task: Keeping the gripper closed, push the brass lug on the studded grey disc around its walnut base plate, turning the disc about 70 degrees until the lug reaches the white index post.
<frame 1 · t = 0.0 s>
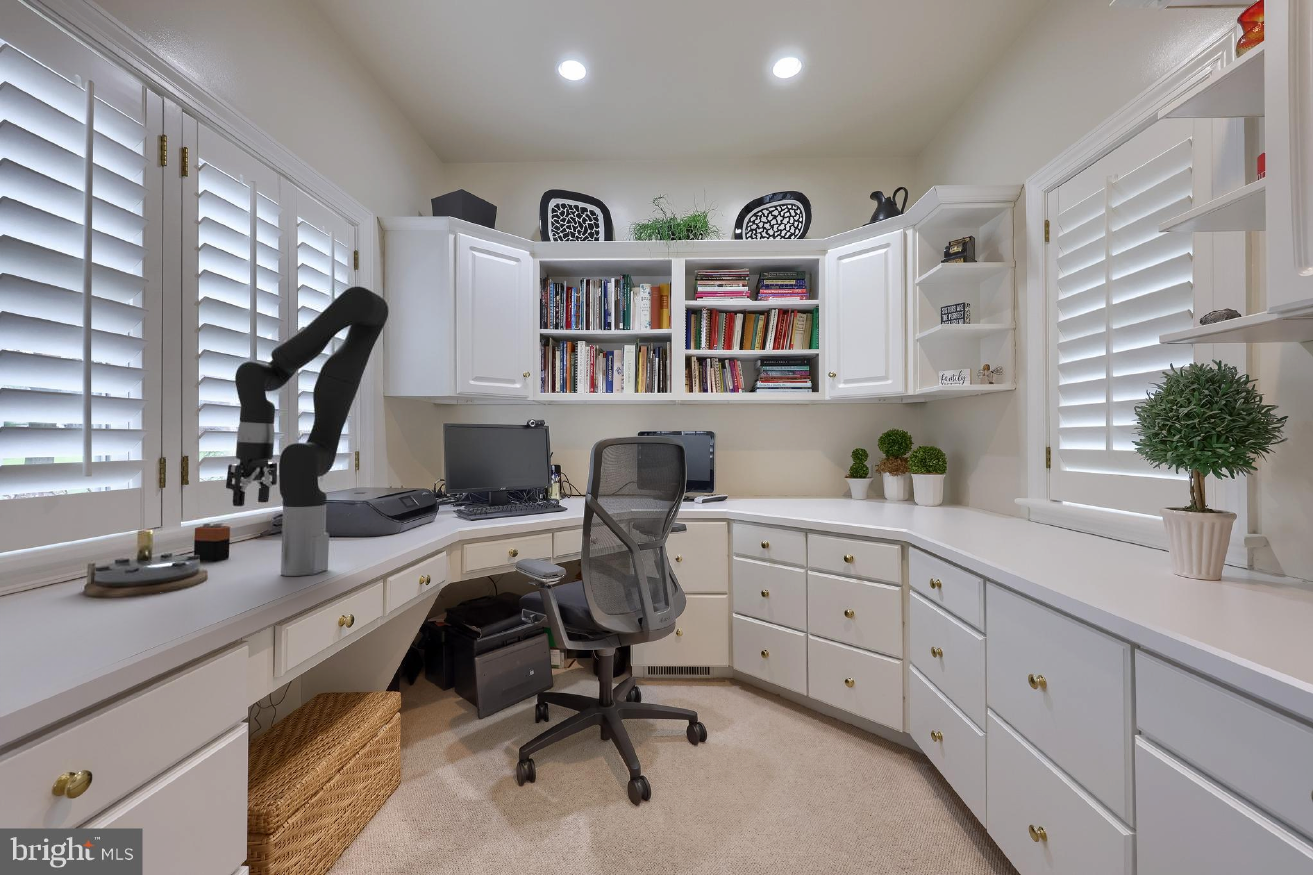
hand: (251, 504, 131), 17 cm above the table, tool pointing down, fingers open, 8 cm apart
battery: (211, 560, 142), on the table
studded grey disc: (150, 555, 118), point 7 cm above the table, hinge at 0.0°
base plate: (149, 584, 118), on the table
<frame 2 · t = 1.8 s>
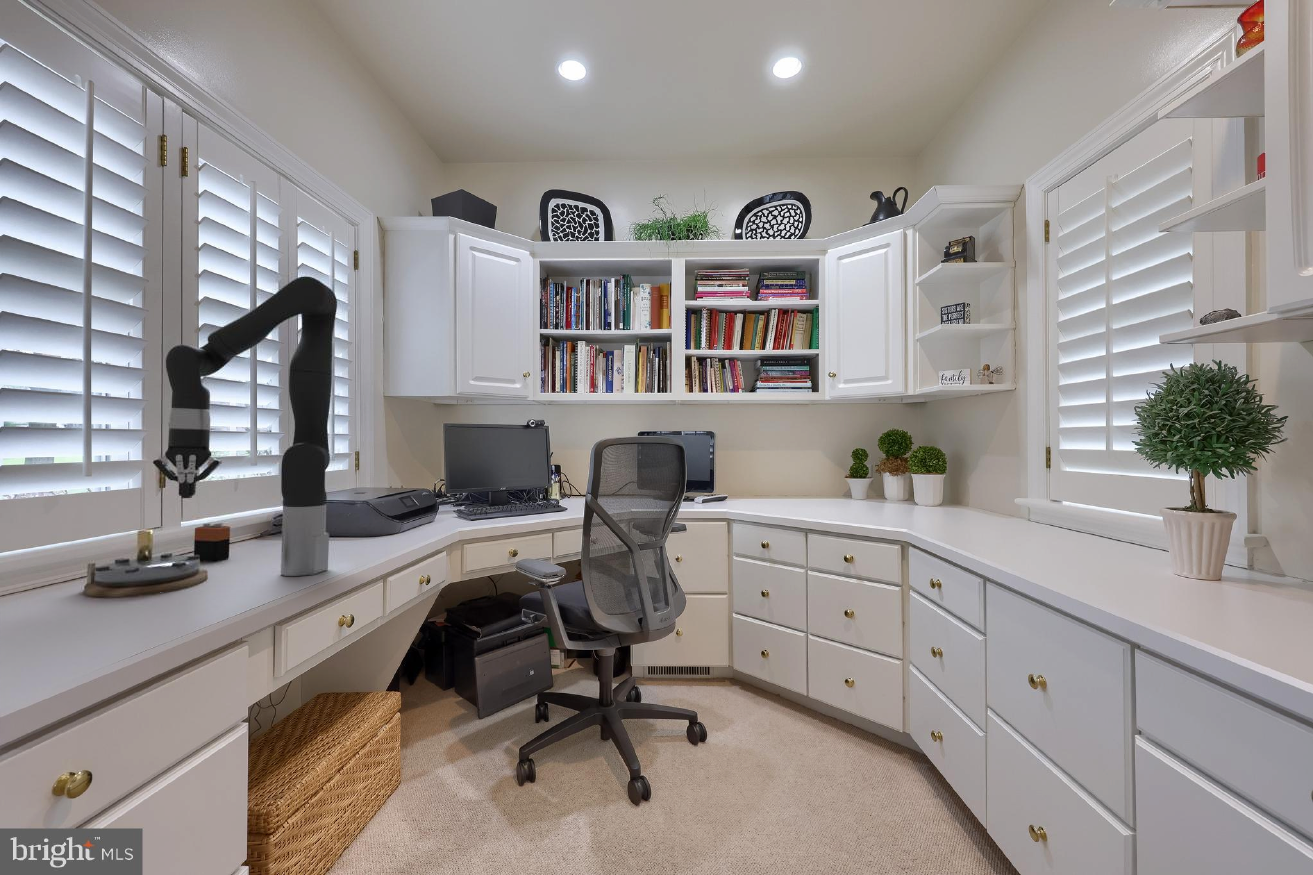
hand: (186, 497, 126), 19 cm above the table, tool pointing down, fingers closed
nothing on the table moved.
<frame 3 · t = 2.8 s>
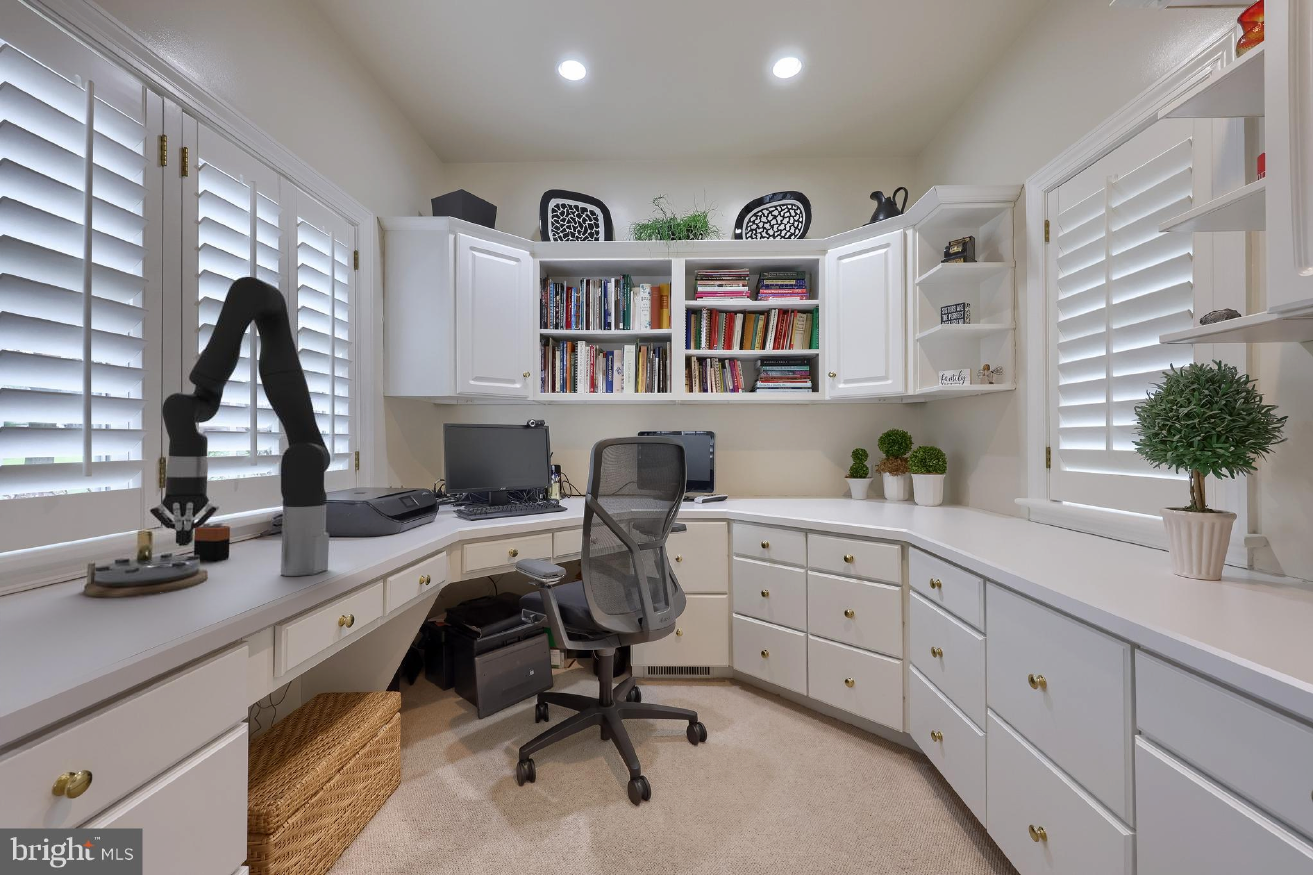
hand: (183, 545, 126), 7 cm above the table, tool pointing down, fingers closed
nothing on the table moved.
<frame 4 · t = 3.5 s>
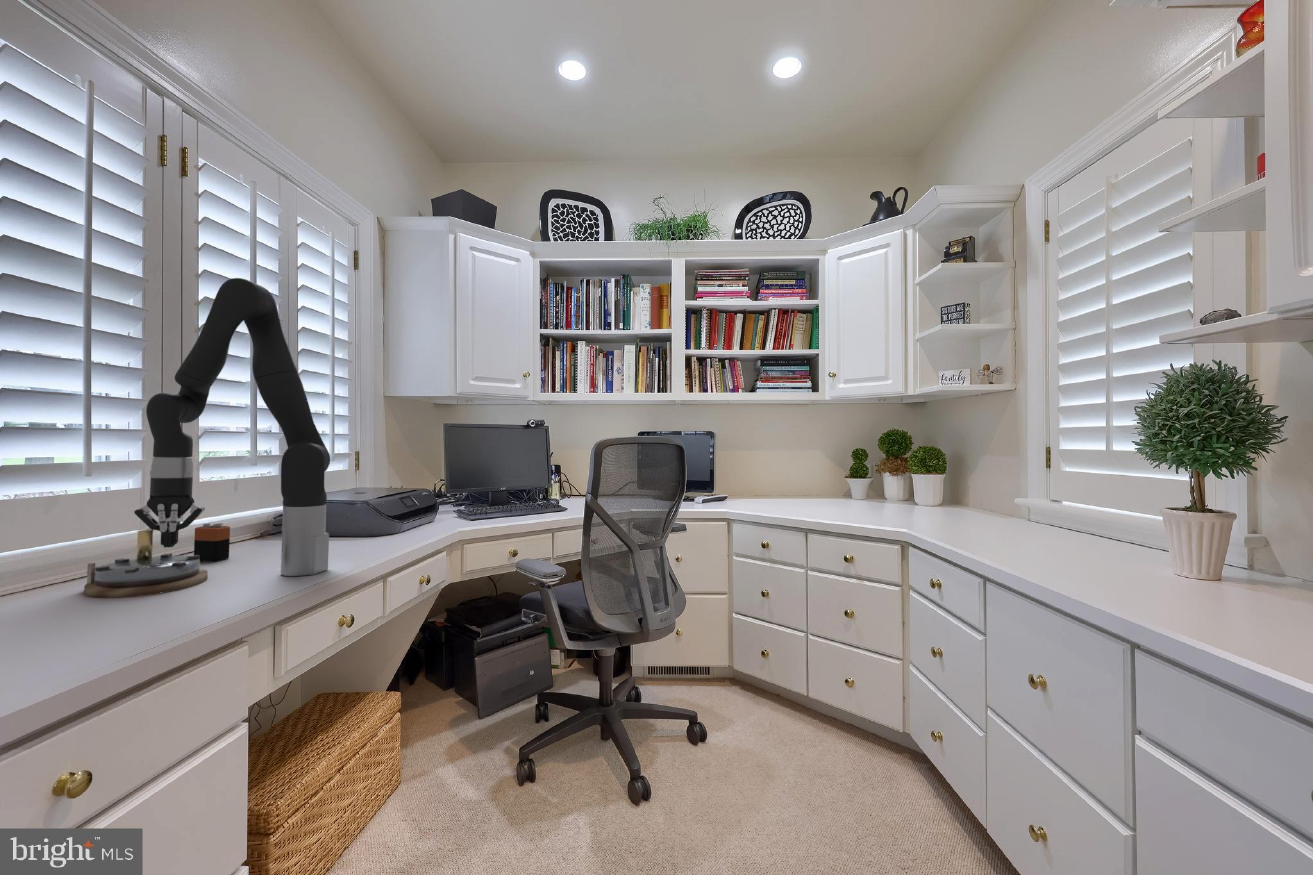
hand: (169, 546, 125), 7 cm above the table, tool pointing down, fingers closed
studded grey disc: (150, 555, 118), point 7 cm above the table, hinge at 0.0°, touching gripper
everything else where it was.
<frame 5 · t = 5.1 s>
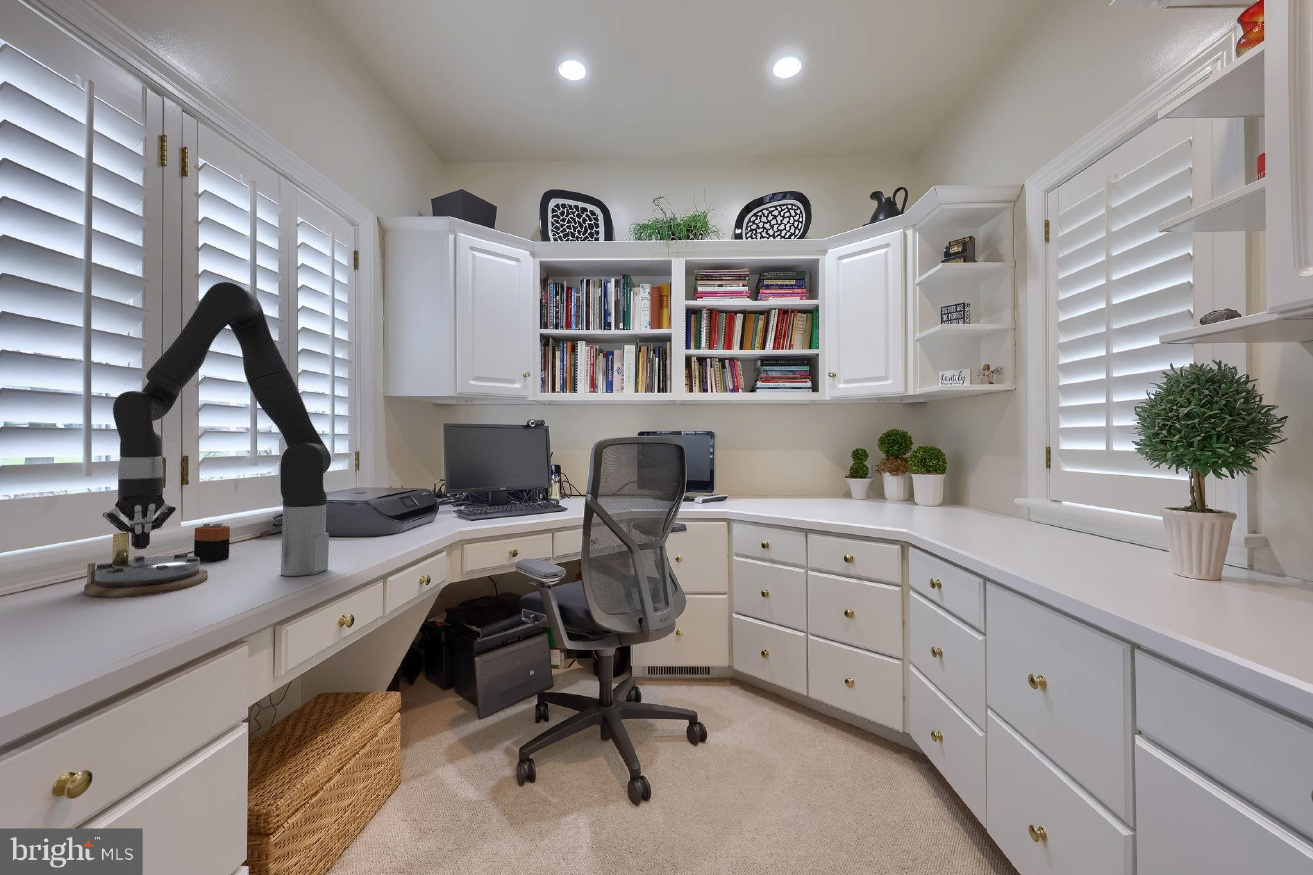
hand: (140, 548, 122), 7 cm above the table, tool pointing down, fingers closed
studded grey disc: (150, 555, 118), point 7 cm above the table, hinge at 36.5°, touching gripper
everything else where it was.
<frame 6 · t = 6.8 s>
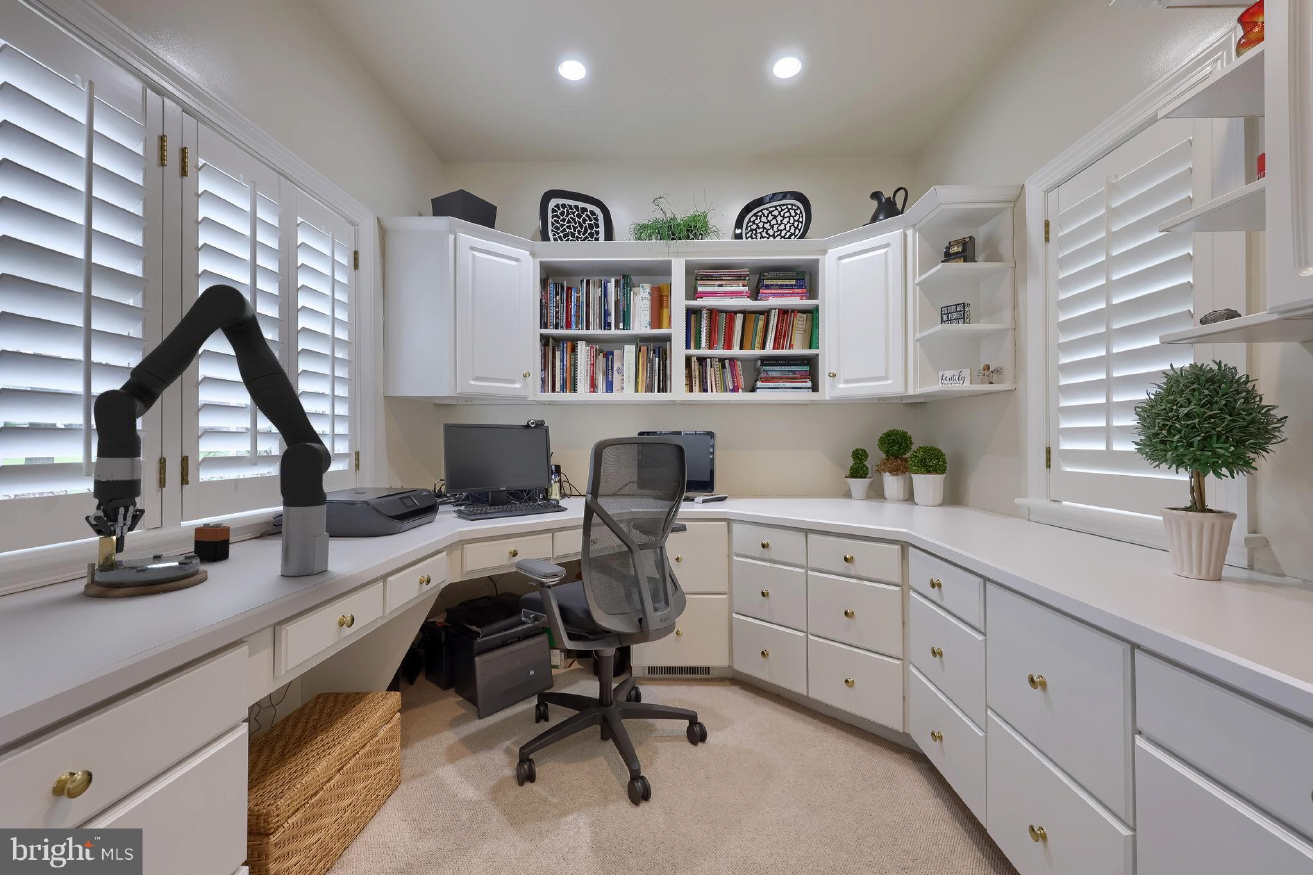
hand: (114, 553, 117), 7 cm above the table, tool pointing down, fingers closed
studded grey disc: (150, 555, 118), point 7 cm above the table, hinge at 72.0°
everything else where it was.
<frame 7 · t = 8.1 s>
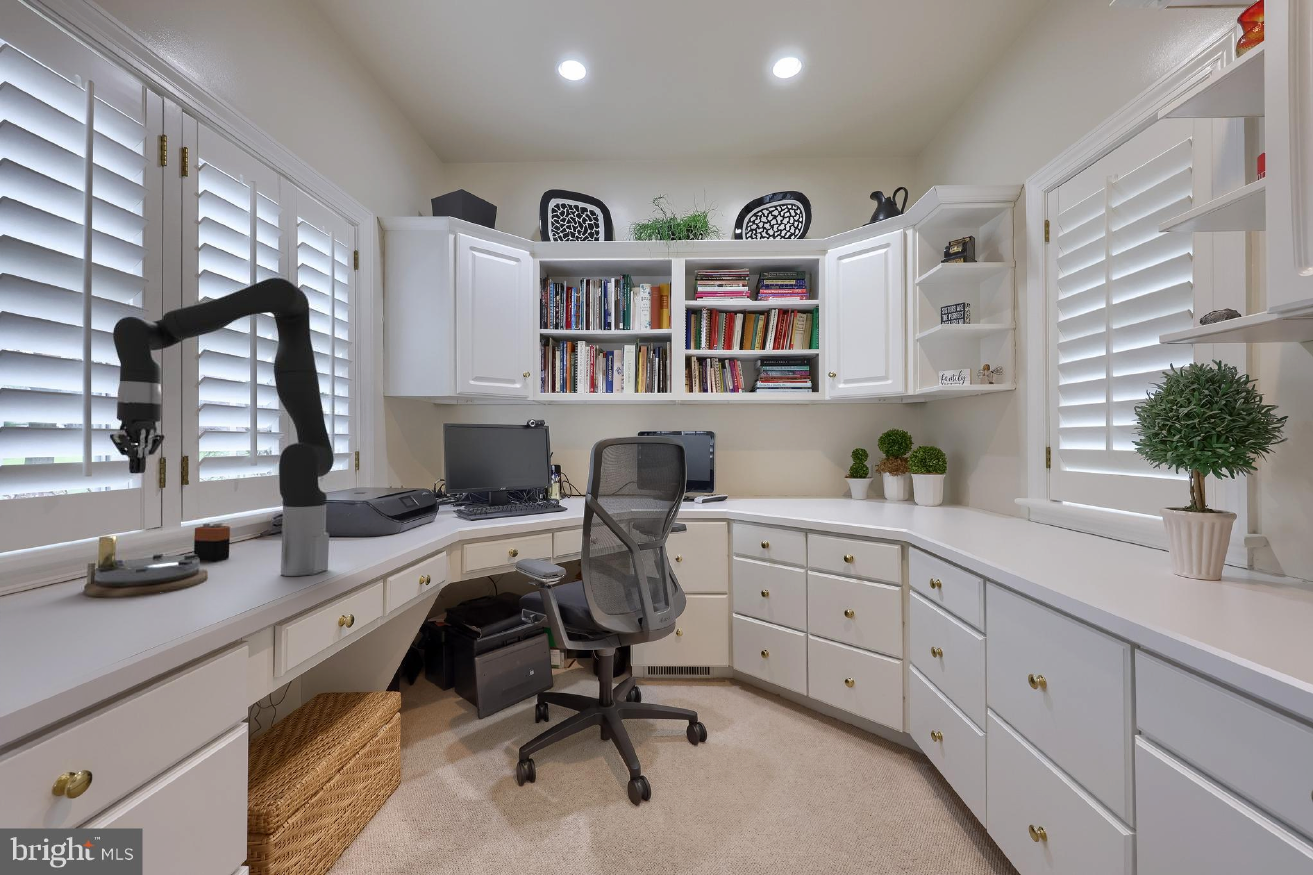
hand: (137, 473, 124), 25 cm above the table, tool pointing down, fingers closed
nothing on the table moved.
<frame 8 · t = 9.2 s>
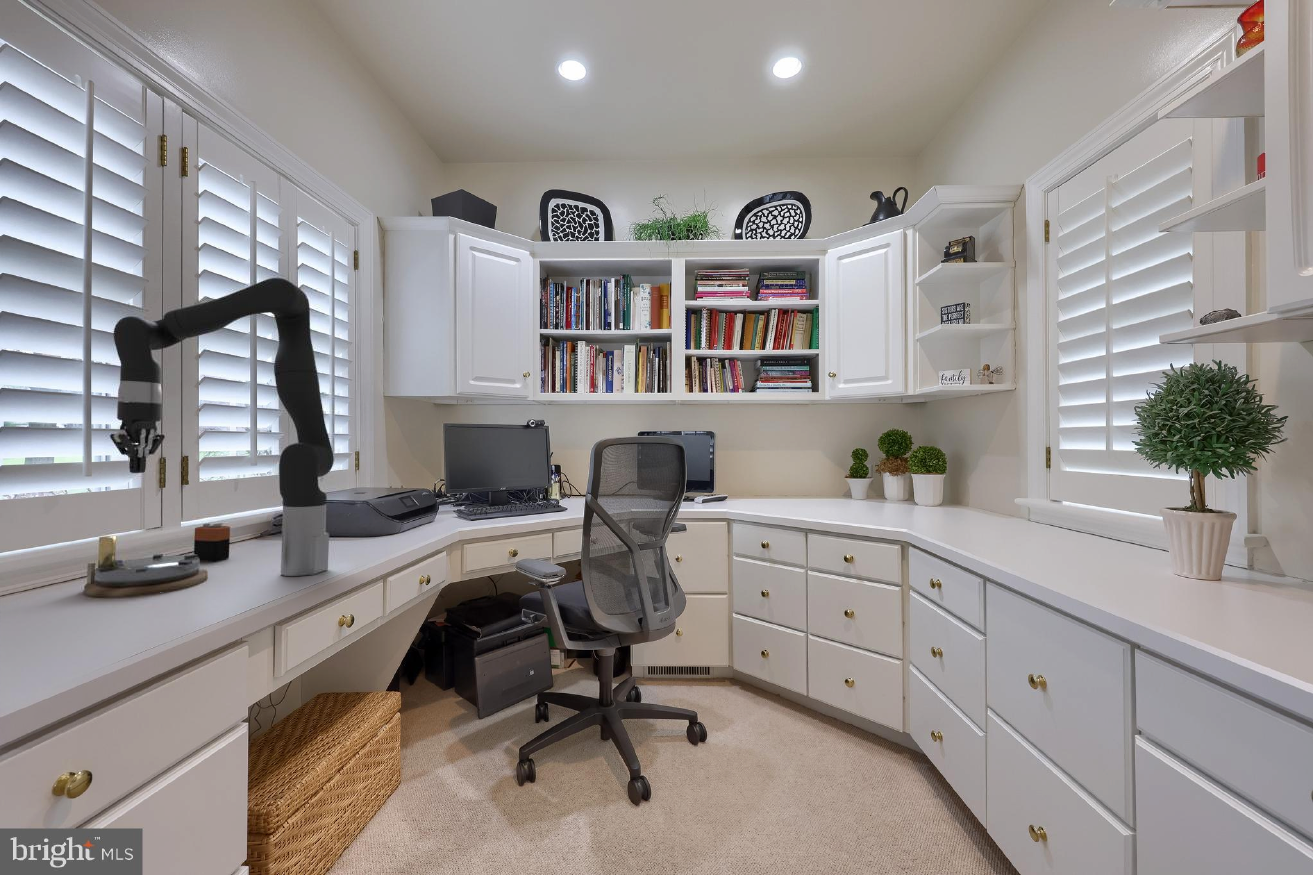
hand: (137, 472, 124), 25 cm above the table, tool pointing down, fingers closed
nothing on the table moved.
at the end: studded grey disc at +72° (first picture: +0°); battery moved 0.2 cm from its start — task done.
